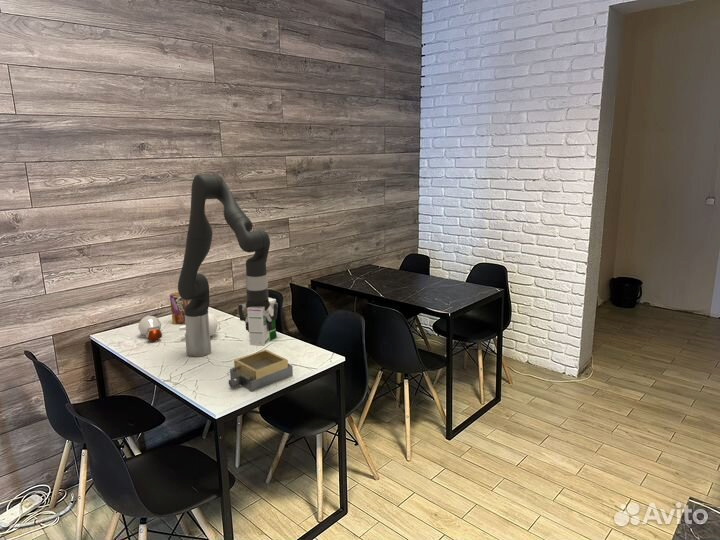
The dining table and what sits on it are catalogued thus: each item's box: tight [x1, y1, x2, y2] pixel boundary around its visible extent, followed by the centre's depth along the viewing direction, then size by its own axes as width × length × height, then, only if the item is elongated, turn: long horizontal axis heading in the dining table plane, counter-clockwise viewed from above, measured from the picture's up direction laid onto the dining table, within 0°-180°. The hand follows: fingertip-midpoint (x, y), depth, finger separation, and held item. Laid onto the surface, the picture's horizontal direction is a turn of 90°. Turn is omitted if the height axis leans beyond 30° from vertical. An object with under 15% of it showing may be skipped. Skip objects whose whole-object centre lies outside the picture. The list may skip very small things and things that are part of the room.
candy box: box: [169, 291, 191, 325], centre depth 242 cm, size 9×4×15 cm, turn 85°
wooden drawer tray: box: [228, 349, 294, 392], centre depth 184 cm, size 22×14×7 cm, turn 135°
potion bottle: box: [137, 315, 163, 343], centre depth 225 cm, size 9×10×15 cm
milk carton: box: [268, 297, 278, 341], centre depth 222 cm, size 9×9×20 cm
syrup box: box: [246, 306, 271, 347], centre depth 181 cm, size 6×6×14 cm
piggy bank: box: [178, 312, 219, 337], centre depth 225 cm, size 12×12×15 cm
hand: (259, 330), depth 182 cm, fingers closed on syrup box, 6 cm apart
